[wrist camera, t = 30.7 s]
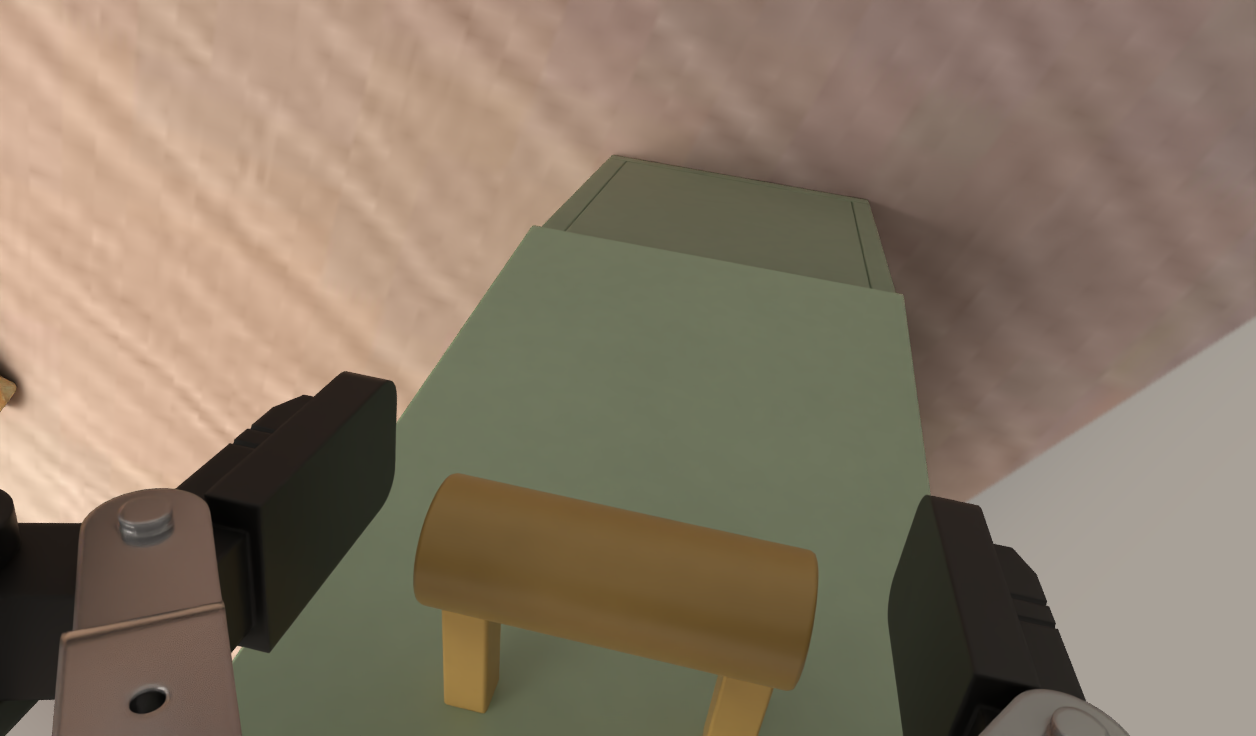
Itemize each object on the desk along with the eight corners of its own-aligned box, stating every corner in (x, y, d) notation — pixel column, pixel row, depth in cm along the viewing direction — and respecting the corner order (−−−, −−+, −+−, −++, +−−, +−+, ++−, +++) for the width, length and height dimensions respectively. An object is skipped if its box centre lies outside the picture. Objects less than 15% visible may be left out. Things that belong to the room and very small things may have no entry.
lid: (978, 1007, 11) (1148, 810, 9) (171, 792, 13) (84, 555, 10) (897, 316, 26) (948, 160, 24) (531, 246, 28) (538, 90, 25)
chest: (783, 524, 46) (778, 709, 34) (571, 477, 47) (497, 642, 36) (868, 199, 38) (899, 300, 27) (611, 154, 39) (535, 231, 28)
